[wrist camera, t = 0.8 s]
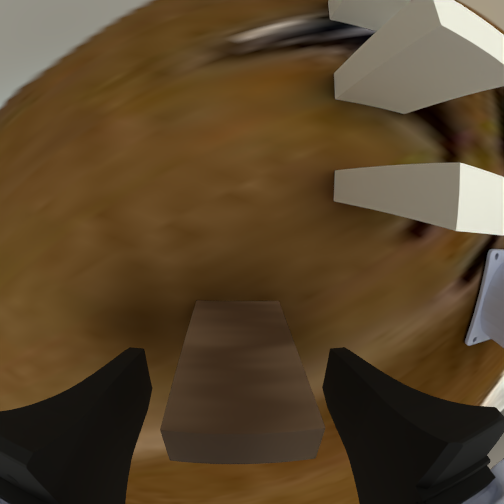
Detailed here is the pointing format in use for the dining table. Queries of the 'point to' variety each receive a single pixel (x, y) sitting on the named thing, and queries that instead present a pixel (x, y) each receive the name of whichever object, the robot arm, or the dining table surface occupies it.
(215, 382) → the walnut domino
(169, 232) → the dining table surface
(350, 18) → the ivory domino
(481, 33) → the ivory domino
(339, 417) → the robot arm
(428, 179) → the ivory domino
